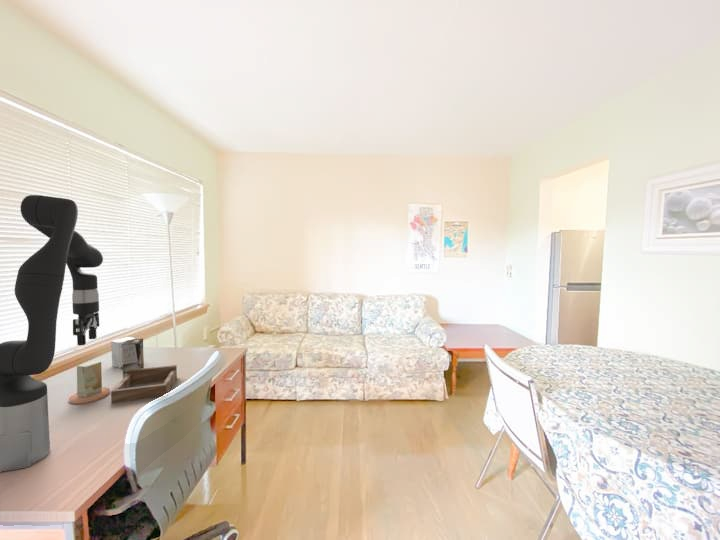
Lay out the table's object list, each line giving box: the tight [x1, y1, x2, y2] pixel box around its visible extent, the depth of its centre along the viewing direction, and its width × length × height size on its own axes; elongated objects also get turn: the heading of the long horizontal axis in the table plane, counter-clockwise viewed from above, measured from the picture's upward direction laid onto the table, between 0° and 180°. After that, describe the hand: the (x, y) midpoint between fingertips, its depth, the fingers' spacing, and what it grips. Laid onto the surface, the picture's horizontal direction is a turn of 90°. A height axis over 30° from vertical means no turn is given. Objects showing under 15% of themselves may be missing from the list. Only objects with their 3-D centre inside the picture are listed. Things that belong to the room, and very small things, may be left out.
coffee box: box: [122, 338, 145, 380], centre depth 137 cm, size 9×6×16 cm
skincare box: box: [76, 360, 103, 398], centre depth 117 cm, size 6×4×12 cm
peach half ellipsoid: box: [68, 386, 111, 405], centre depth 117 cm, size 12×12×1 cm
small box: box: [110, 336, 137, 369], centre depth 150 cm, size 8×6×13 cm
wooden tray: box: [110, 364, 178, 404], centre depth 124 cm, size 18×18×6 cm
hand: (87, 341), depth 116 cm, fingers open, 8 cm apart
